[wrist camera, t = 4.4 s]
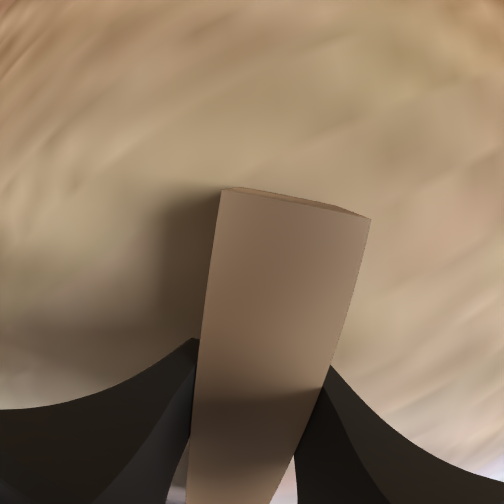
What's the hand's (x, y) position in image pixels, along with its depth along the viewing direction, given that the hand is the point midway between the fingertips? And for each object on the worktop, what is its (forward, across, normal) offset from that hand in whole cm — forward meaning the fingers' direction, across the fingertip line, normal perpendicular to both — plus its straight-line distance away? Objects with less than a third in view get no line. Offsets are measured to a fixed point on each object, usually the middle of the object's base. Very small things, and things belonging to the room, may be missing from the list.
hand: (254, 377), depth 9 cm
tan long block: (+2, 0, +2) cm, 3 cm away
